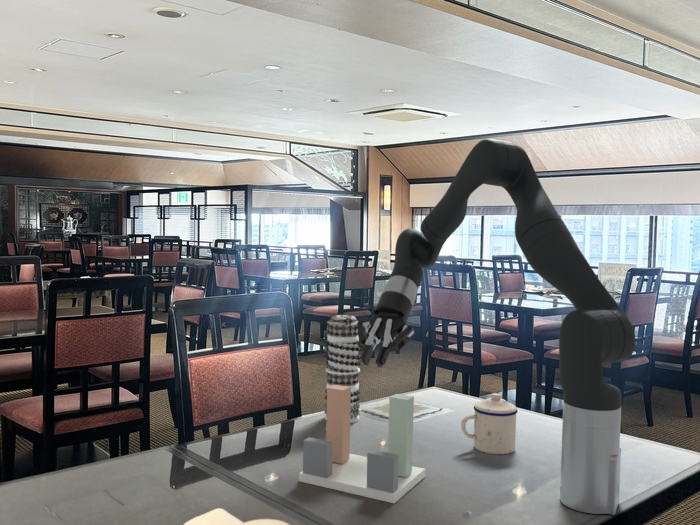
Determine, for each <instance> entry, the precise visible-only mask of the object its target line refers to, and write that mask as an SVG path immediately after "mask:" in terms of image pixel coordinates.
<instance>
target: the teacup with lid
mask: <svg viewBox="0 0 700 525" xmlns="http://www.w3.org/2000/svg"><path fill="white" fill-rule="evenodd" d="M501 397H502V396H501V394H500V393H491V394H490V397H487V398H486V399H484V400H480V401H477V402H475V403H474V405H473V409H474V414H468V415H465V416H464V417H463V419H462V420H461V422H460V427H461V431H462V432H463V435H464V436H466V438H469V439H473V447H474V448H475V449H476V450H478V451H479V452H482V453H484V452H485V454H489V455H498V454H501V455H508V454H512V453H513V452H514V451H515V450H516V433H517V432H516V431H517V413H518V409H517V406H516V405H515V404H513V403H511V402H508V401H507V400H505V399H504V398H501ZM469 420H474V423H473V424H474V425H473V426H474V427H473V434H470V433H469V432H468V431H467V429H466V424H467V422H468V421H469Z"/></svg>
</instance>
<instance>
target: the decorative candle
mask: <svg viewBox="0 0 700 525" xmlns="http://www.w3.org/2000/svg"><path fill="white" fill-rule="evenodd" d="M358 321H359V320H358V319H357V318H356V316H354V315H351V314H350V315H349V314H337V315H333V316H331V317H330V319H329V320H328V321H327V322H326V324H327V325H328V327H327V328H328V332H327V337H326V338H324V341H323V343H325V345H326V346H324V352H325V353H324V358H325V359H326V361H325V362H324V366H325V372H326V373H327V376H326V378H327V380H326V389H325V391H324V393H325V394H326V395H325V397H324V399H325V401H326V402H325V403H324V408H325V409H324V414H325V415H324V420H325V421H327V388H328V387H330V386H333V385H341V386H348V387H351V404H350V424H354V423H355V422H359V420H360V416H359V415H360V412H361V411H360V408H361V405H360V403H359V401H360V398H361V397H360V396H359V395H360V393H361V390H360V388H359V387H360V386H359V385H360V384H359V383H360V382H359V373H360V372H361V368H360V367H359V366H361V365H362V362H361V361H359V360H362V359H361V355H360V354H359V352H361V351H363V348H362V346H361V344H360V342H359V337H358V327H357V322H358Z"/></svg>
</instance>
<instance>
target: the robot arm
mask: <svg viewBox="0 0 700 525" xmlns="http://www.w3.org/2000/svg"><path fill="white" fill-rule="evenodd" d="M482 185H487V186H488V185H489V186H495V187H501V188H503V189H504V190H505V191H506V192H507V193H508V195H509V197H510V198H511V200H512V202H513V203H514V205H515V209H516V217H515V223H514V236H515V240H516V242H517V244H518V246H519V249H520V250H521V252H522V254H523V255H524V258H525V259H526V261H527V262H528V264H529V266H530V267H531V268H532V270H533V271H534V272H535V273H536V274H537V275H539V277H541V278H542V279H543V280H545V281H546V282H547V283H548V284H549V285H551V286H552V287H553V288H555V289H556V290H558V292H560V293H561V295H564V297H566V299H568V301H570V303H571V304H572V305H573V307H574V308H575V310H572V311H570V312H569V313H567V314H566V315H565V317H564V318H563V320H562V322H561V324H560V329H559V333H558V334H559V336H558V337H559V338H558V353H559V354H558V356H559V357H558V358H559V359H558V360H559V362H558V363H559V382H560V386H561V388H562V392H563V396H562V397H563V402H562V404H563V405H562V428H561V429H562V430H561V431H562V432H561V452H560V453H561V454H560V455H561V458H560V479H559V480H560V484H559V501H560V502H561V503H562V504H563V505H564V506H565V507H568V508H569V509H572V510H575V511H578V512H581V513H585V514H593V515H594V514H595V515H604V514H605V515H607V514H608V515H613V516H616V513H617V509H618V508H619V507H618V506H619V503H620V485H621V484H620V483H621V460H622V459H621V458H622V448H621V447H620V446H621V445H620V444H621V421H622V415H621V414H622V400H623V399H622V398H623V397H622V391H621V390H620V389H619V388H618V387H617V386H616V385H613V384H610V383H607V382H606V381H605V379H604V374H603V373H604V372H603V365H605V364H612V363H618V362H622V361H626V360H627V359H629V358H630V357H631V356H632V354H633V353H634V352H635V348H636V334H635V330H634V328H633V325H632V323H631V321H630V319H629V318H628V316H627V314H626V313H625V311H624V310H623V309H622V308H621V306H620V305H619V304H618V302H617V301H616V300H615V298H614V297H613V296H612V295H611V293H610V292H609V291H608V290H607V288H606V287H605V285H603V283H602V282H601V280H600V279H599V277H598V276H597V274H596V273H595V271H594V270H593V268H592V266H591V265H590V263H589V262H588V260H587V259H586V257H585V255H584V254H583V253H582V251H581V250H580V248H579V246H578V244H577V241H575V238H574V237H573V235H572V233H571V232H570V230H569V229H568V226H567V225H566V224H565V222H564V221H563V219H562V218H561V216H560V214H559V213H558V211H557V210H556V208H555V206H554V205H553V203H552V201H551V199H550V198H549V195H548V194H547V193H546V191H545V189H544V188H543V185H542V183H541V181H540V179H539V177H538V174H537V172H536V170H535V168H534V166H533V163H532V161H531V159H530V157H529V155H528V154H527V151H526V150H525V149H524V148H523V147H522V146H521V145H519V144H517V143H514V142H511V141H507V140H500V139H495V138H484V139H482V140H480V141H478V142H477V143H476V144H475V145H474V146H473V147H472V148H471V150H470V152H469V153H468V154H467V156H466V157H465V160H464V162H463V163H462V164H461V166H460V168H459V169H458V171H457V173H456V175H455V176H454V178H453V180H452V181H451V183H450V185H449V187H448V188H447V190H446V191H445V193H444V195H443V196H442V198H441V199H440V200H439V201H438V202H437V204H436V205H435V206H434V207H433V208H432V209H431V211H430V212H429V213H428V214H427V215H426V216H425V217H424V218H423V219H422V221H421V223H420V231H421V232H420V231H419V230H417V229H416V228H413V227H408V228H406V229H404V230H403V231H402V232H400V234H399V235H398V237H397V239H396V243H395V248H394V249H395V250H394V251H395V252H394V264H393V268H392V270H391V274H390V276H389V278H388V281H386V284H384V286H383V289H382V292H381V294H380V297H379V298H378V301H377V304H376V307H375V309H374V313H373V315H372V317H370V319H369V321H364V322H363V321H362V320H357V321H358V322H357V327H358V337H359V342H360V344H361V345H360V347H361V348H362V353H361V355H360V356H361V359H360V360H361V361H362V362H361V363H363V365H364V366H369V364H370V362H371V359H372V356H373V353H374V351H375V349H376V347H377V345H379V344H380V342H381V340H382V339H383V342H382V347H380V348H379V351H378V354H377V357H376V359H375V364H376V366H377V367H378V368H382V367H383V366H384V365H385V364H386V363H387V360H388V357H389V355H390V354H391V353H392V352H394V353H399V352H400V351H401V350H402V349H403V348H404V347H405V346H406V345H407V344H408V343H409V342H410V341H411V340H412V339H413V338H414V337H415V334H416V333H415V331H414V328H413V326H412V325H407V323H408V321H409V317H410V314H411V312H412V309H413V306H414V305H415V301H416V299H417V293H418V290H419V288H420V285H421V283H422V282H421V281H422V280H423V277H424V270H423V268H424V269H425V268H426V269H427V268H430V267H432V266H433V265H434V264H436V261H438V258H439V255H440V253H441V251H442V249H443V247H444V245H445V243H446V241H447V240H448V238H450V237H451V235H453V234H454V232H455V231H457V229H458V228H459V227H460V226H461V225H462V223H463V221H464V219H465V218H466V216H467V211H468V202H469V198H470V197H471V195H472V194H473V192H475V191H476V190H477V189H478V188H480V187H481V186H482ZM369 328H371V329H370V332H369ZM367 333H368V337H367Z"/></svg>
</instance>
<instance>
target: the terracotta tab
mask: <svg viewBox="0 0 700 525" xmlns="http://www.w3.org/2000/svg"><path fill="white" fill-rule="evenodd" d="M326 389H327V394H326V395H327V400H326V402H327V420H326V424H325V425H326V429H325V431H326V433H325V437H326V439H325V440H326V441H331V442H333V457H332V462H336V463H341V464H342V463H344V462H345V461H347V460H349V454H351V450H350V446H351V444H350V443H351V423H350V404H351V387H348V386H341V385H333V386H330V387H328V388H327V387H326Z"/></svg>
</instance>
